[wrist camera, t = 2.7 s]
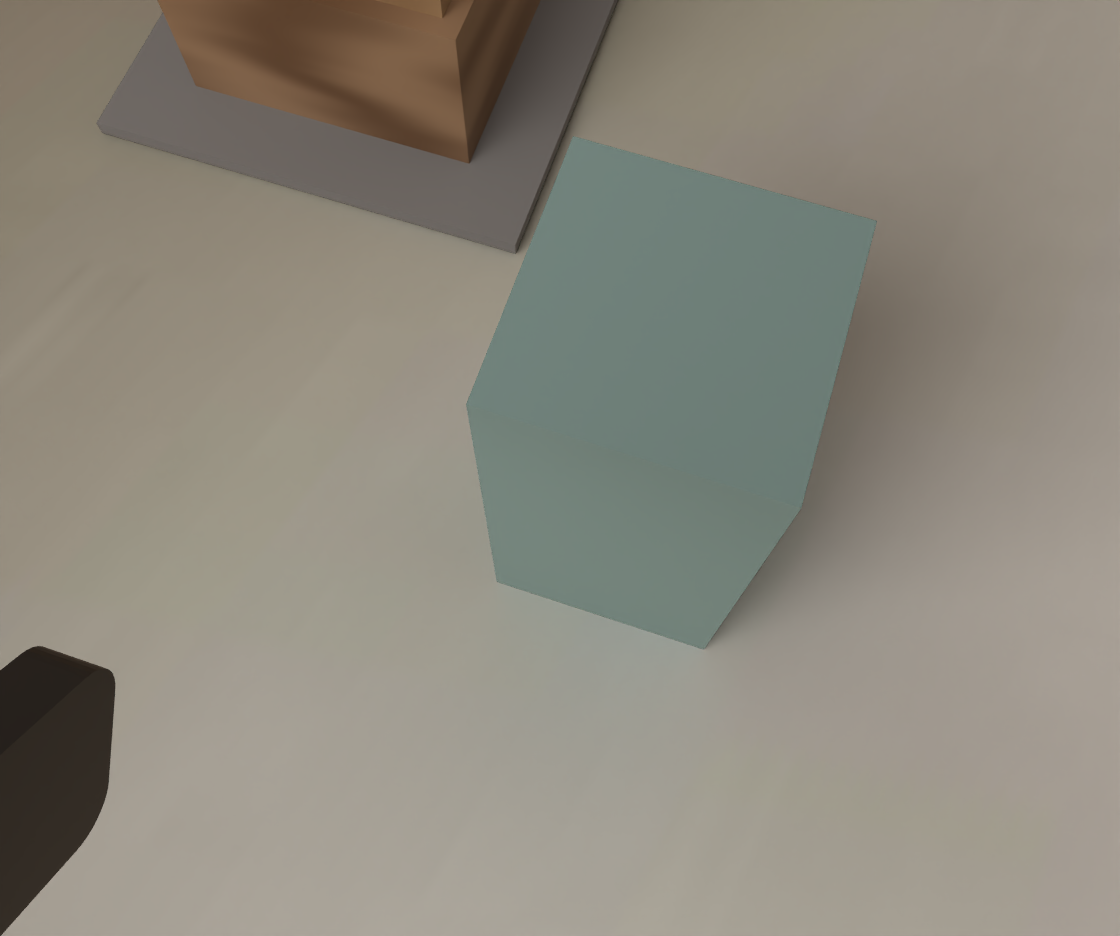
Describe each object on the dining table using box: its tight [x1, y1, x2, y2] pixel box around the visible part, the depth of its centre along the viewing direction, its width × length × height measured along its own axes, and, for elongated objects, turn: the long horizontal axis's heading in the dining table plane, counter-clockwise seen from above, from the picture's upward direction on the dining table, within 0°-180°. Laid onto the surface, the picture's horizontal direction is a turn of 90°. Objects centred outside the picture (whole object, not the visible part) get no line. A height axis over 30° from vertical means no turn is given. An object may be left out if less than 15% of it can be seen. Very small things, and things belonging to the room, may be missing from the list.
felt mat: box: [97, 0, 618, 254], centre depth 30 cm, size 12×12×1 cm
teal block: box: [466, 136, 877, 649], centre depth 21 cm, size 5×5×10 cm
